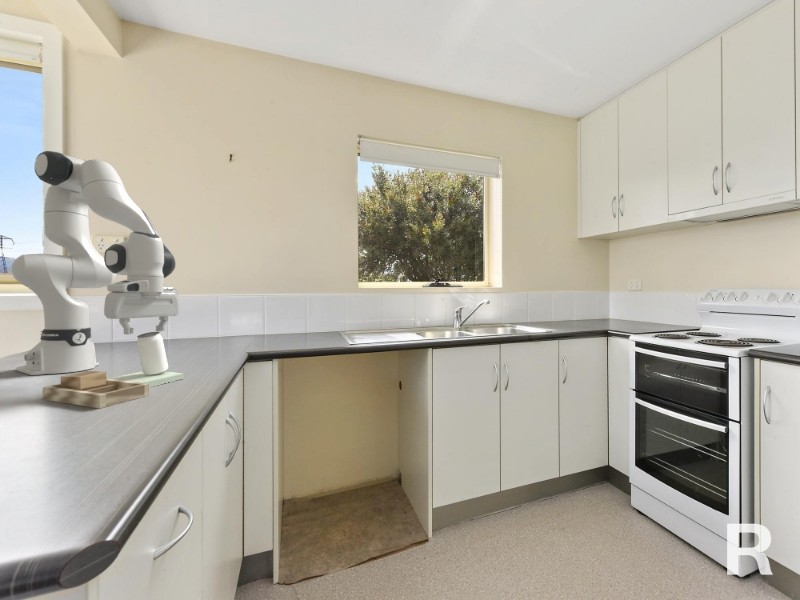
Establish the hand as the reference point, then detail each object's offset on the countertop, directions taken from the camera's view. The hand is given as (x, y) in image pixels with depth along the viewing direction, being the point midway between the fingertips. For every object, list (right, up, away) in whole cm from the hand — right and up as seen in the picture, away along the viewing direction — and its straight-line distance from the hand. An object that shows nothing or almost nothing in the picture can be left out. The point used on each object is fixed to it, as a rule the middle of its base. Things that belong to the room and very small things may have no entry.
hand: (144, 332), depth 103 cm
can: (+1, -13, +4) cm, 13 cm away
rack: (-1, -15, -16) cm, 22 cm away
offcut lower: (-5, -15, -14) cm, 21 cm away
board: (0, -15, 0) cm, 15 cm away
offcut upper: (-5, -12, -14) cm, 20 cm away
